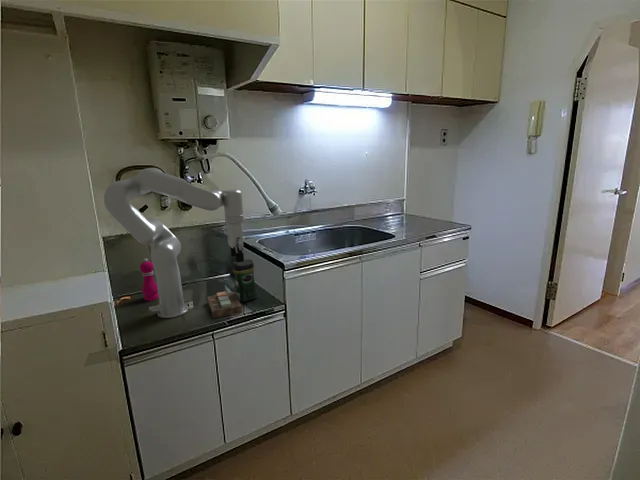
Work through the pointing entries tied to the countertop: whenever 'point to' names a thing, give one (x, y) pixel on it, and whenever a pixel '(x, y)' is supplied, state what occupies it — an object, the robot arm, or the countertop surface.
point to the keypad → (219, 312)
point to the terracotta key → (221, 294)
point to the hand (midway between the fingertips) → (237, 258)
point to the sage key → (225, 304)
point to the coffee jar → (244, 280)
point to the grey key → (223, 298)
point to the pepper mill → (149, 281)
